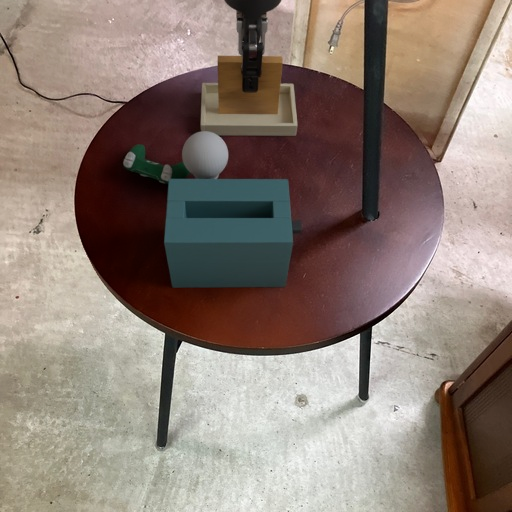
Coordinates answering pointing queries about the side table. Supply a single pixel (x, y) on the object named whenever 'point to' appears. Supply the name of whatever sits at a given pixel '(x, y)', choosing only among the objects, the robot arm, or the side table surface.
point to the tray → (249, 116)
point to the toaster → (229, 232)
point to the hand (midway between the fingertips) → (249, 77)
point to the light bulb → (205, 155)
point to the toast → (248, 103)
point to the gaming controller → (153, 166)
